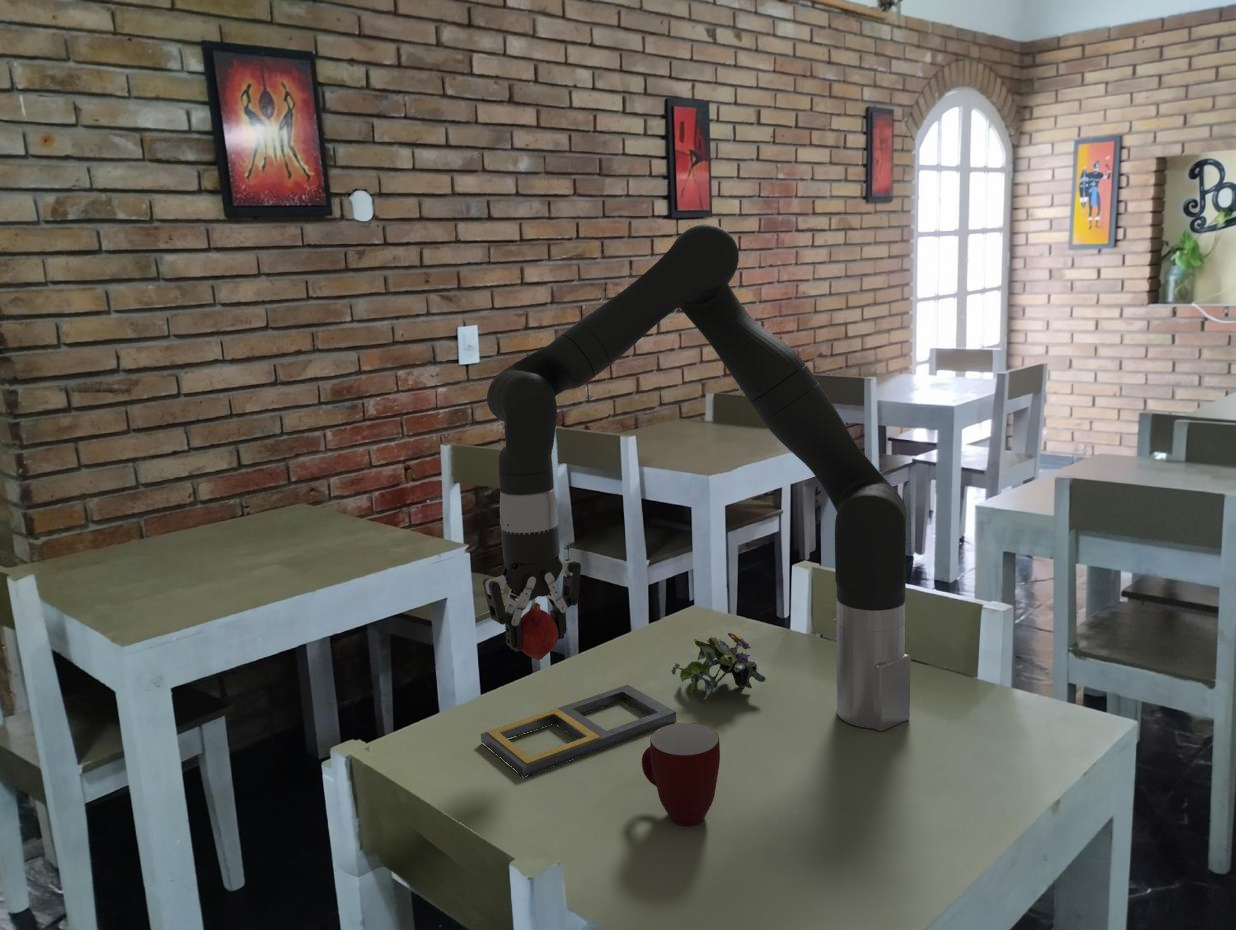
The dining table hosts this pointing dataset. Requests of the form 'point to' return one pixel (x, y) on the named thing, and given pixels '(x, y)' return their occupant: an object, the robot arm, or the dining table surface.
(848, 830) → the dining table surface
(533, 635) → the onion
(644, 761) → the mug
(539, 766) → the grey yellow flat frame
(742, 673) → the passion flower
